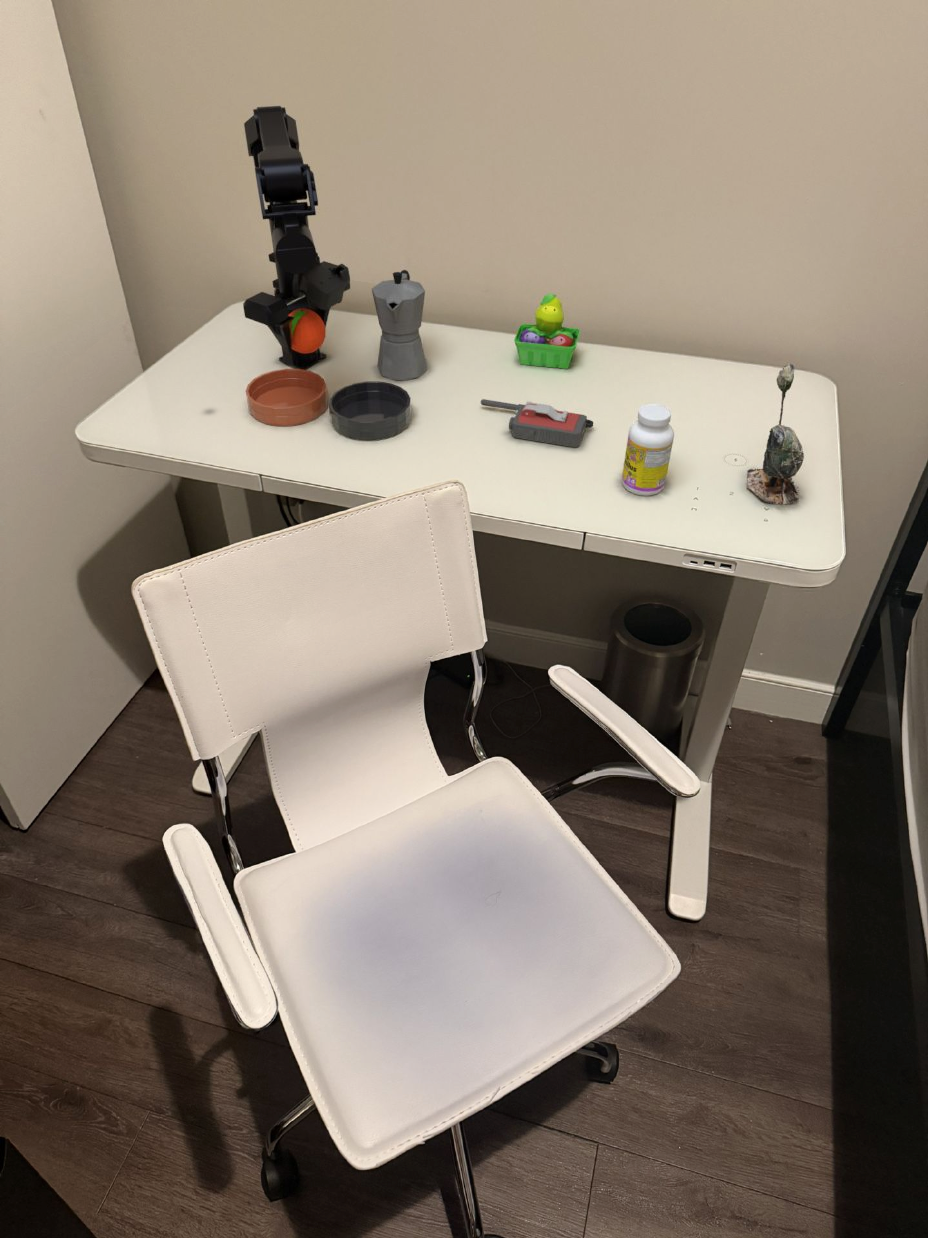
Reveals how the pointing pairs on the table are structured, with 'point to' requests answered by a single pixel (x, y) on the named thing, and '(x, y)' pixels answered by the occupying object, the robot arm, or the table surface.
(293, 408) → the terracotta bowl
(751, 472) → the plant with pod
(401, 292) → the coffeepot
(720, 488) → the table surface
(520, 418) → the walkie-talkie
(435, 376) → the table surface
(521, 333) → the fruit basket
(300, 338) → the clementine
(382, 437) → the charcoal bowl
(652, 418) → the supplement bottle
